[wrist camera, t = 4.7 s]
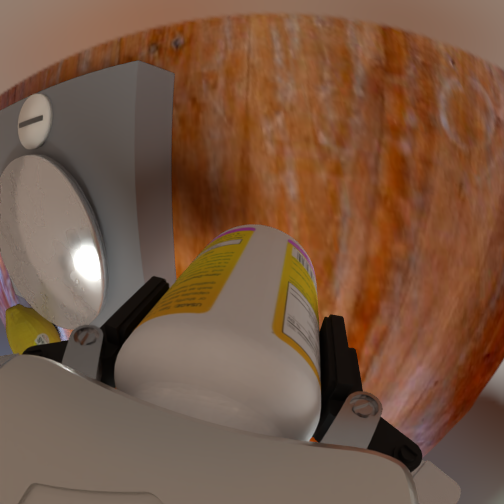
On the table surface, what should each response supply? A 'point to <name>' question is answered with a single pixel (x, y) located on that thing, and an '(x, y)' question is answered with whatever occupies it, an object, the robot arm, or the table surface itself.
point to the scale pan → (52, 241)
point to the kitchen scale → (109, 163)
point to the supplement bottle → (234, 338)
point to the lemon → (28, 329)
